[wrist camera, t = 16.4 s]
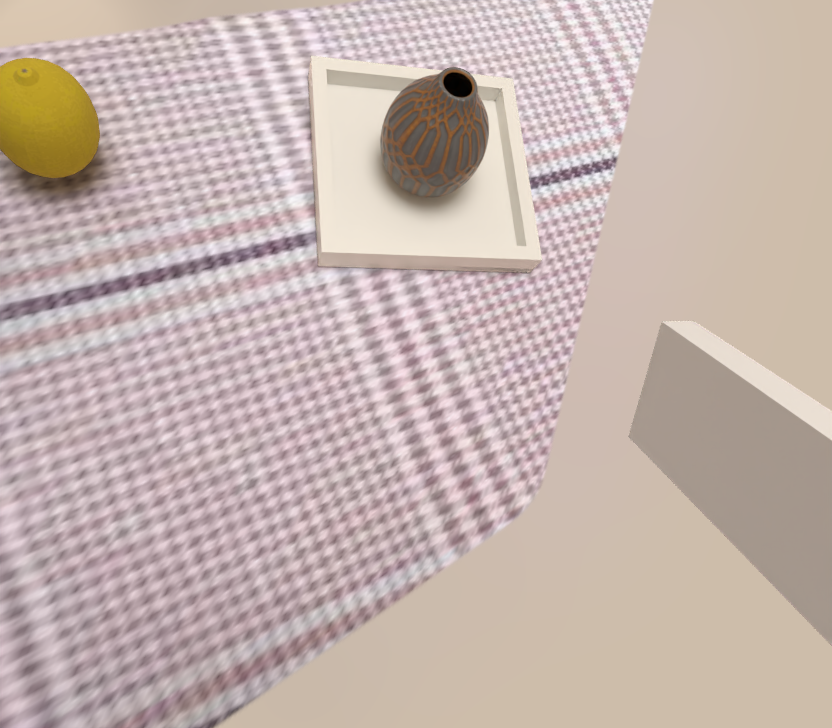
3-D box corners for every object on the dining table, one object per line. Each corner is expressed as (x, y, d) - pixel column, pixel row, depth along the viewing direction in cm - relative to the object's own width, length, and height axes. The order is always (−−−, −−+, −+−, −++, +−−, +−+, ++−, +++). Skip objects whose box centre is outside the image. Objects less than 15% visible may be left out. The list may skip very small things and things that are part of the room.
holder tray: (317, 266, 44) (321, 252, 42) (308, 76, 48) (311, 55, 46) (530, 272, 48) (542, 260, 46) (502, 96, 52) (512, 78, 50)
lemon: (128, 158, 43) (107, 68, 35) (68, 219, 40) (31, 136, 33) (53, 109, 42) (16, 8, 35) (-12, 167, 40) (-66, 73, 33)
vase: (485, 185, 48) (536, 104, 40) (413, 229, 46) (451, 152, 37) (426, 113, 49) (464, 20, 41) (351, 153, 46) (377, 60, 38)
